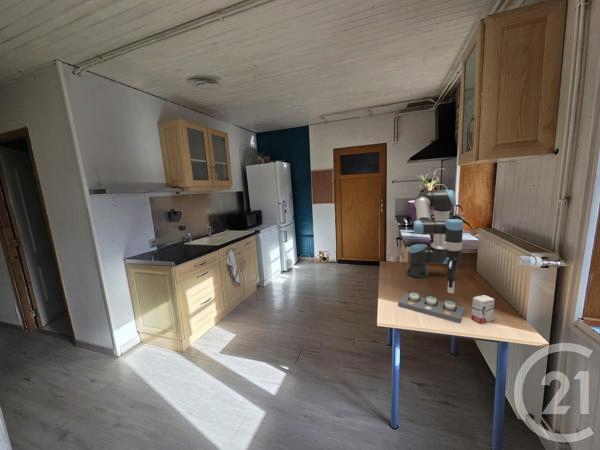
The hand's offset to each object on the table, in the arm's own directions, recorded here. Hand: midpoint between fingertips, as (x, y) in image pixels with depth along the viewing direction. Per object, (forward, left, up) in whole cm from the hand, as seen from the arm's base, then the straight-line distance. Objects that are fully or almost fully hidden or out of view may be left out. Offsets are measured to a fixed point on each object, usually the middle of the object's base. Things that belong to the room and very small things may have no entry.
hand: (450, 292), depth 129 cm
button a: (0, -18, -9) cm, 20 cm away
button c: (0, 0, -9) cm, 9 cm away
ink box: (-1, +14, -12) cm, 18 cm away
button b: (0, -9, -9) cm, 13 cm away
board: (+2, -9, -12) cm, 15 cm away
